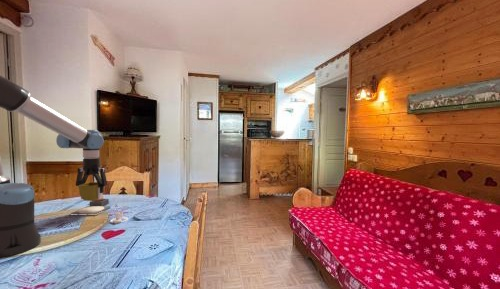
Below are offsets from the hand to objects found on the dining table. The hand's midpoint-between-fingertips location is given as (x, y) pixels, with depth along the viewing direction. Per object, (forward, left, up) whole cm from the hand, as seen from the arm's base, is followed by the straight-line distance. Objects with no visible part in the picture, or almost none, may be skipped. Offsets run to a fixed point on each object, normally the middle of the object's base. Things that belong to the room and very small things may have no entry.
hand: (91, 198), depth 129 cm
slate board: (0, 0, -7) cm, 7 cm away
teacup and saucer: (-15, -20, -8) cm, 26 cm away
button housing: (+11, +3, -7) cm, 14 cm away
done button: (+11, +3, -5) cm, 13 cm away
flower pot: (0, 0, -1) cm, 1 cm away
